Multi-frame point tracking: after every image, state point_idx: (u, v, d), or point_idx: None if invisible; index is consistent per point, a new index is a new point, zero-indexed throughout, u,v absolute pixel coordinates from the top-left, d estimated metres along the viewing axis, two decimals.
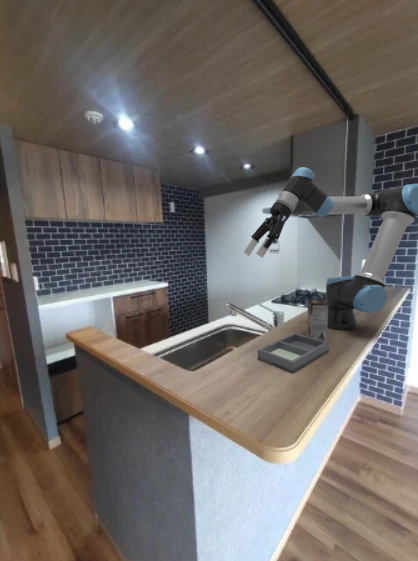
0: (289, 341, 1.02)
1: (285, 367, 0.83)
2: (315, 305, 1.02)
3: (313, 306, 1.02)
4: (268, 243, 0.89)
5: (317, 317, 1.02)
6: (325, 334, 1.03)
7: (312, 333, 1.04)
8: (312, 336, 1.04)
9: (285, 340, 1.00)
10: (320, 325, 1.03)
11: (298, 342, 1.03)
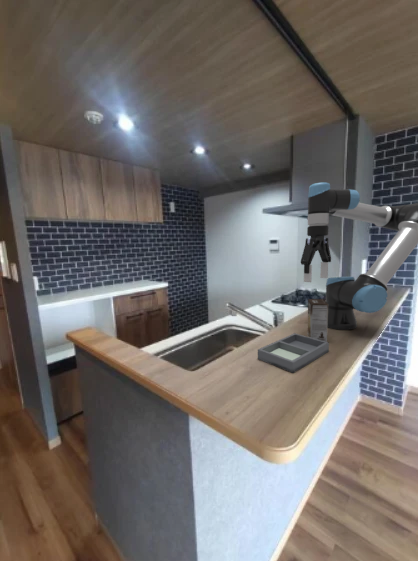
0: (289, 341, 1.02)
1: (285, 367, 0.83)
2: (315, 305, 1.02)
3: (313, 306, 1.02)
4: (305, 269, 0.98)
5: (317, 317, 1.02)
6: (325, 334, 1.03)
7: (312, 333, 1.04)
8: (312, 336, 1.04)
9: (285, 340, 1.00)
10: (320, 325, 1.03)
11: (298, 342, 1.03)
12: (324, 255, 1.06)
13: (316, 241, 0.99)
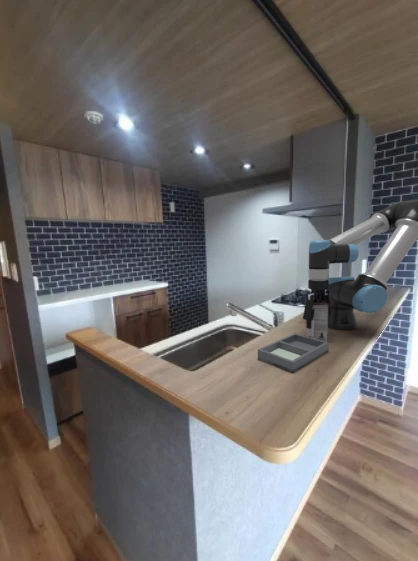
0: (289, 341, 1.02)
1: (285, 367, 0.83)
2: (315, 305, 1.02)
3: (313, 306, 1.02)
4: (307, 324, 1.03)
5: (317, 317, 1.02)
6: (325, 334, 1.03)
7: None
8: None
9: (285, 340, 1.00)
10: (320, 324, 1.03)
11: (298, 342, 1.03)
12: None
13: (317, 295, 1.03)
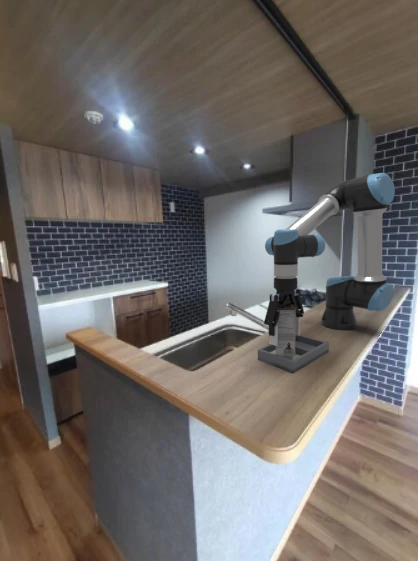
0: None
1: (285, 367, 0.83)
2: (280, 310, 0.84)
3: None
4: (270, 331, 0.84)
5: (283, 324, 0.84)
6: (293, 345, 0.85)
7: None
8: (277, 347, 0.86)
9: None
10: (287, 333, 0.84)
11: (298, 342, 1.03)
12: None
13: (283, 296, 0.85)
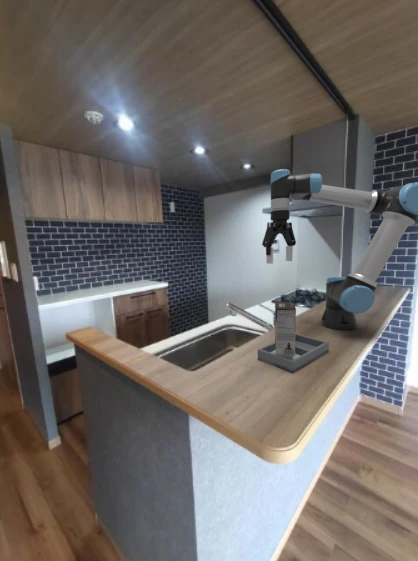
0: None
1: (285, 367, 0.83)
2: (280, 310, 0.84)
3: (278, 311, 0.84)
4: (267, 251, 1.04)
5: (283, 324, 0.84)
6: (293, 345, 0.85)
7: (277, 344, 0.86)
8: (277, 347, 0.86)
9: None
10: (287, 333, 0.84)
11: (298, 342, 1.03)
12: (288, 239, 1.12)
13: (277, 225, 1.05)
